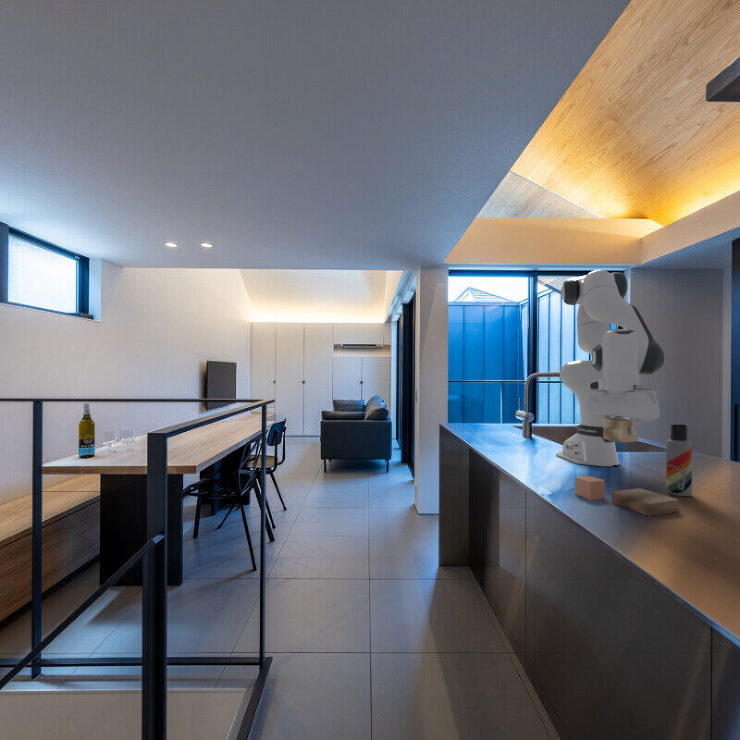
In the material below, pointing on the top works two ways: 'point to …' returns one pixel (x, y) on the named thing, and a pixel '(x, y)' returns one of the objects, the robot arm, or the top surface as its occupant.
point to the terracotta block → (590, 487)
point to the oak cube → (618, 430)
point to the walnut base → (645, 501)
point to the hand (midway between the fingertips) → (620, 432)
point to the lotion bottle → (679, 461)
